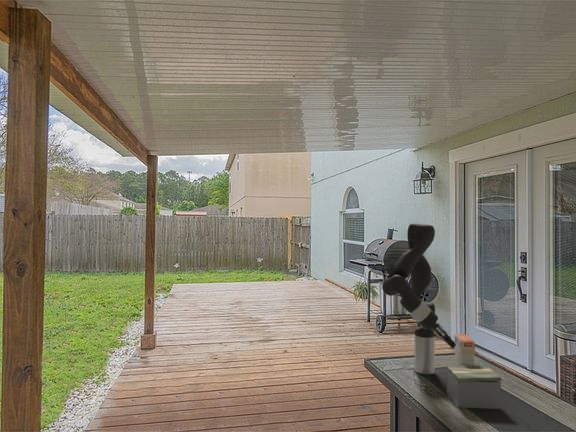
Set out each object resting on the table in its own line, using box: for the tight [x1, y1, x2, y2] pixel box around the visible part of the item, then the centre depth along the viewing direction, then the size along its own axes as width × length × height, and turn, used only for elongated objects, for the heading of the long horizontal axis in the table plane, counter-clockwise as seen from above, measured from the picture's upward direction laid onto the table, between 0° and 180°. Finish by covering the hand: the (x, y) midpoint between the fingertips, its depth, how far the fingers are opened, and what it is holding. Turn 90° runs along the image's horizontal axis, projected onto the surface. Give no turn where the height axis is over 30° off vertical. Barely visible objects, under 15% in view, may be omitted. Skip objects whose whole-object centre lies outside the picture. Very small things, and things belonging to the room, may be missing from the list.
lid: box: [445, 365, 502, 382], centre depth 169 cm, size 15×16×1 cm
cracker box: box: [454, 333, 476, 366], centre depth 187 cm, size 14×6×21 cm, turn 168°
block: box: [446, 369, 502, 410], centre depth 169 cm, size 14×16×10 cm
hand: (453, 346), depth 170 cm, fingers closed
